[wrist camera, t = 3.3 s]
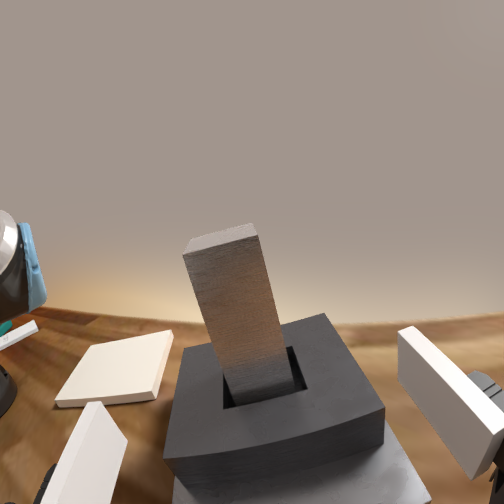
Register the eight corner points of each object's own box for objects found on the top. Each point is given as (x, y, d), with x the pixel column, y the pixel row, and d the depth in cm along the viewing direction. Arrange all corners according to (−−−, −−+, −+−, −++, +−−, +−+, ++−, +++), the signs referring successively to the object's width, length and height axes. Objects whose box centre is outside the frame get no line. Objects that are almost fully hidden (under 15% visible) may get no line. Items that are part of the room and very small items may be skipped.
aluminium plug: (248, 434, 21) (182, 254, 18) (244, 399, 26) (190, 238, 22) (303, 421, 21) (257, 234, 18) (293, 388, 26) (251, 222, 22)
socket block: (173, 561, 11) (133, 534, 10) (191, 388, 30) (174, 350, 29) (428, 505, 11) (445, 467, 10) (339, 350, 31) (333, 309, 29)
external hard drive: (39, 333, 58) (-2, 354, 49) (36, 325, 63) (-2, 344, 55) (36, 326, 57) (-5, 347, 49) (33, 319, 63) (-5, 338, 55)
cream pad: (59, 407, 29) (54, 400, 29) (94, 352, 43) (90, 345, 43) (155, 399, 30) (151, 390, 29) (173, 336, 43) (170, 329, 43)
